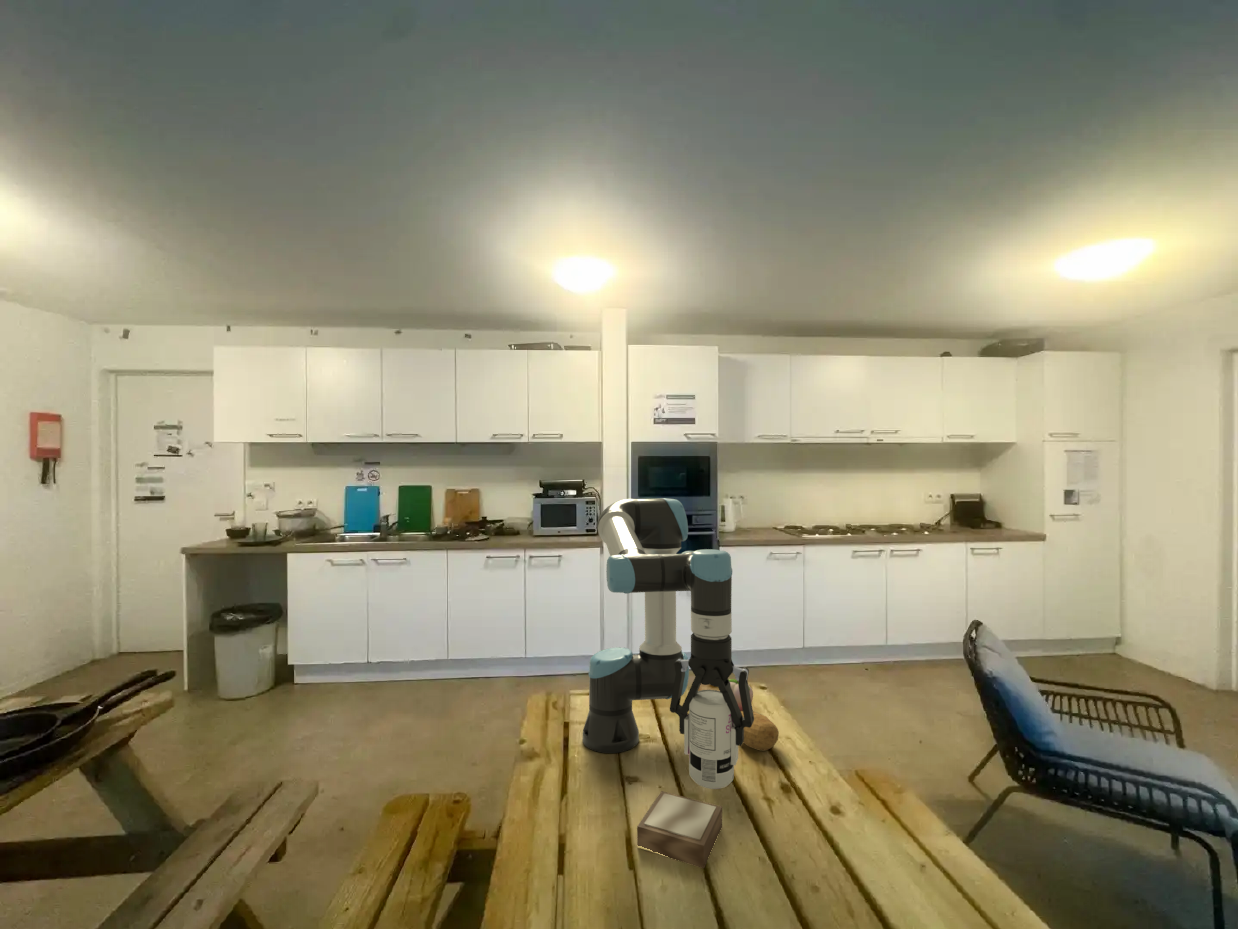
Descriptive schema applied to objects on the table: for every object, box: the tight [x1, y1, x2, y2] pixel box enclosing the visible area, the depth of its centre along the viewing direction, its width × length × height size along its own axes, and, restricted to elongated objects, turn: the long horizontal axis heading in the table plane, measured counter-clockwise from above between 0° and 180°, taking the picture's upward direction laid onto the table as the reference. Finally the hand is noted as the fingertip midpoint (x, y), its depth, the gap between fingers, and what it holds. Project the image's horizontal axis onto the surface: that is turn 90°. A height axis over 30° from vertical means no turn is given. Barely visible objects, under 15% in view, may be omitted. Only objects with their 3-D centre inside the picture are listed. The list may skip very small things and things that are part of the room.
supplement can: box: [688, 689, 735, 790], centre depth 101 cm, size 8×8×15 cm
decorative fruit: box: [728, 678, 754, 711], centre depth 164 cm, size 9×8×10 cm
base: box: [636, 790, 723, 869], centre depth 105 cm, size 13×13×4 cm
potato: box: [741, 710, 780, 752], centre depth 142 cm, size 10×14×8 cm
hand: (711, 756), depth 101 cm, fingers closed on supplement can, 8 cm apart
